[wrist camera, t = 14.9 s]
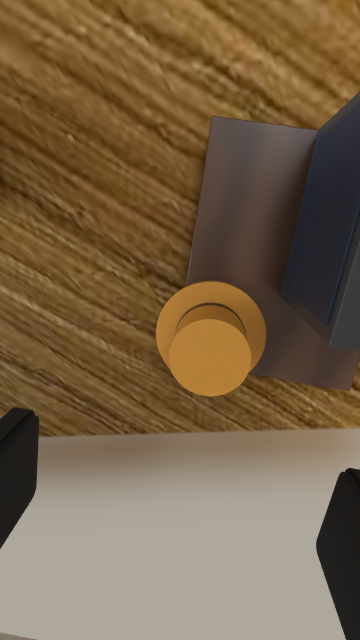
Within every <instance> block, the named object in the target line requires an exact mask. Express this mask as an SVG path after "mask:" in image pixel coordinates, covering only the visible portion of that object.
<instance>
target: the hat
mask: <svg viewBox="0 0 360 640" xmlns="http://www.w3.org/2000/svg"><path fill="white" fill-rule="evenodd" d="M156 341H157V346H158V349H159V352H160V354H161V356H162V358H163V360H164V362H165V363H166V365H167V366H168V367H169V368H170V369H171V371H172V373H173V375H174V377H175V378H176V380H177V381H178V382H179V383H180V384H181V385H182V386H183V387H184V388H186V389H187V390H189V391H191V392H193V393H195V394H198V395H202V396H219V395H223V394H226V393H229V392H231V391H232V390H234V389H235V388H237V387H238V386H239V385H240V384H241V383H242V382H243V381H244V380H245V378H246V377H247V375H248V373H249V372H250V371H251V370H252V369H253V368H254V367H255V365H256V364H257V363H258V361H259V360H260V358H261V356H262V353H263V351H264V347H265V343H266V326H265V322H264V318H263V316H262V313H261V311H260V309H259V308H258V306H257V304H256V303H255V302H254V300H253V299H252V298H251V297H250V296H249V295H248V294H247V293H245V292H244V291H242V290H241V289H239V288H238V287H236V286H234V285H231V284H228V283H225V282H220V281H202V282H197V283H194V284H191V285H188V286H186V287H184V288H182V289H181V290H179V291H178V292H177V293H175V294H174V295H173V296H172V297H171V298H170V299H169V300H168V302H167V303H166V304H165V306H164V307H163V309H162V311H161V313H160V316H159V318H158V322H157V327H156Z"/></svg>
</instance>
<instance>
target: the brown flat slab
mask: <svg viewBox="0 0 360 640" xmlns="http://www.w3.org/2000/svg"><path fill="white" fill-rule="evenodd" d="M317 134H318V130H312V129H305V128H297V127H290V126H283V125H276V124H268V123H261V122H254V121H247V120H239V119H232V118H225V117H217V116H212V119H211V126H210V132H209V139H208V145H207V152H206V158H205V164H204V171H203V177H202V184H201V190H200V197H199V203H198V210H197V216H196V222H195V229H194V235H193V242H192V248H191V255H190V261H189V268H188V274H187V280H186V286H188V285H191V284H194V283H197V282H202V281H220V282H225V283H228V284H231V285H234V286H236V287H238V288H239V289H241V290H242V291H244V292H245V293H247V294H248V295H249V296H250V297H251V298H252V299H253V300H254V302H255V303H256V304H257V306H258V308H259V309H260V311H261V313H262V316H263V318H264V322H265V326H266V343H265V347H264V351H263V353H262V356H261V358H260V360H259V361H258V363H257V364H256V365H255V367H254V368H253V369H252V370H251V371H250V372H249V373H248V374H254V375H259V376H265V377H271V378H276V379H282V380H288V381H293V382H299V383H305V384H311V385H316V386H322V387H328V388H333V389H339V390H345V391H350V387H351V384H352V381H353V378H354V375H355V372H356V368H357V365H358V362H359V359H360V351H354V350H348V349H342V348H336V347H330V346H329V345H328V344H327V343H326V342H325V341H324V340H323V339H322V338H321V337H320V336H319V335H318V334H317V333H316V332H315V331H314V330H313V329H312V328H311V327H310V326H309V325H308V324H307V323H306V322H305V321H304V320H303V319H302V318H301V317H300V316H299V315H298V314H297V313H296V312H295V311H294V310H293V309H292V308H291V307H290V306H289V305H288V304H287V303H286V302H285V301H284V300H283V299H282V298H281V297H280V292H281V288H282V283H283V279H284V275H285V271H286V266H287V262H288V258H289V253H290V249H291V245H292V241H293V236H294V232H295V228H296V223H297V219H298V215H299V211H300V206H301V202H302V198H303V193H304V189H305V185H306V181H307V176H308V172H309V168H310V164H311V159H312V155H313V151H314V146H315V142H316V138H317Z"/></svg>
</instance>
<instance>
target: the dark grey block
mask: <svg viewBox="0 0 360 640" xmlns="http://www.w3.org/2000/svg"><path fill="white" fill-rule="evenodd" d="M280 297H281V298H282V299H283V300H284V301H285V302H286V303H287V304H288V305H289V306H290V307H291V308H292V309H293V310H294V311H295V312H296V313H297V314H298V315H299V316H300V317H301V318H302V319H303V320H304V321H305V322H306V323H307V324H308V325H309V326H310V327H311V328H312V329H313V330H314V331H315V332H316V333H317V334H318V335H319V336H320V337H321V338H322V339H323V340H324V341H325V342H326V343H327V344H328V345H329V346H330V347H336V348H342V349H348V350H354V351H360V91H359V92H358V93H357V94H356V95H355V96H354V97H353V98H352V99H351V100H350V101H349V102H348V103H347V104H346V105H345V106H344V107H343V108H341V109H340V110H339V111H338V112H337V113H336V114H335V115H334V116H333V117H332V118H331V119H330V120H329V121H328V122H327V123H326V124H324V125H323V126H322V127H321V128H320V129H319V130H318V134H317V138H316V142H315V146H314V151H313V155H312V159H311V164H310V168H309V172H308V176H307V181H306V185H305V189H304V193H303V198H302V202H301V206H300V211H299V215H298V219H297V223H296V228H295V232H294V236H293V241H292V245H291V249H290V253H289V258H288V262H287V266H286V271H285V275H284V279H283V283H282V288H281V292H280Z"/></svg>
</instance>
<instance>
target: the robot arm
mask: <svg viewBox="0 0 360 640" xmlns="http://www.w3.org/2000/svg"><path fill="white" fill-rule="evenodd" d="M38 436H39V417H38V416H35V413H34V411H33V410H28V409H23V408H17V407H14V408H12V409H11V410H10V411H9V412H8V413H7V414H6V415H5V416H3V417H2V418H1V419H0V548H1V547H2V545H3V544H4V542H5V541H6V539H7V538H8V536H9V534H10V533H11V531H12V530H13V528H14V527H15V525H16V524H17V522H18V520H19V519H20V517H21V516H22V514H23V513H24V511H25V509H26V508H27V506H28V505H29V503H30V502H31V500H32V498H33V496H34V494H35V490H36V481H37V459H38ZM316 549H317V554H318V557H319V560H320V563H321V566H322V569H323V572H324V575H325V578H326V581H327V584H328V587H329V590H330V593H331V596H332V599H333V602H334V604H335V608H336V611H337V614H338V616H339V620H340V623H341V626H342V629H343V632H344V635H345V638H346V640H360V470H358V469H353V468H348V469H347V470H346V471H345V472H341V473H340V475H339V477H338V480H337V482H336V485H335V488H334V491H333V494H332V497H331V500H330V503H329V506H328V509H327V512H326V514H325V518H324V520H323V523H322V526H321V529H320V532H319V535H318V538H317V542H316ZM0 640H35V639H30V638H25V637H19V636H15V635H9V634H4V633H0Z"/></svg>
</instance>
